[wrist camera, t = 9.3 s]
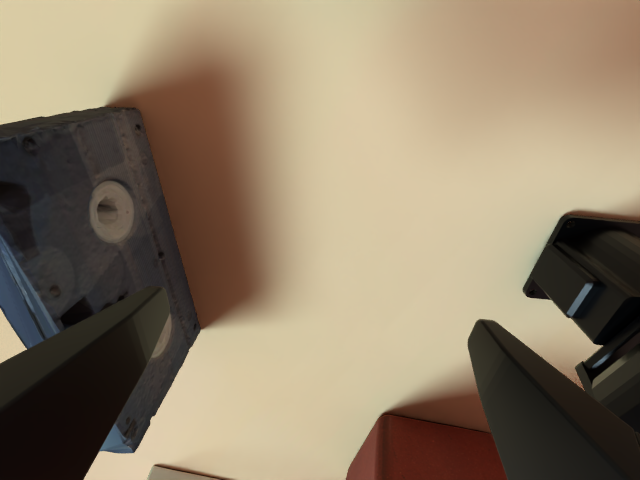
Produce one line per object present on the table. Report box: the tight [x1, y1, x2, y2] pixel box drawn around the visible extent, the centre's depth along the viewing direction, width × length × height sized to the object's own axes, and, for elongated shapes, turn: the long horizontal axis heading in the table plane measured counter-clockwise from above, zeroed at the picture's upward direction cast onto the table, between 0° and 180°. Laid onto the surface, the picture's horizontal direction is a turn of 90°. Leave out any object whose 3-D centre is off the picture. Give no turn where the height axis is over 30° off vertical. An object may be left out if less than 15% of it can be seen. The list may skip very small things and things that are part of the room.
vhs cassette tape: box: [0, 107, 201, 453], centre depth 18 cm, size 18×3×10 cm, turn 179°
